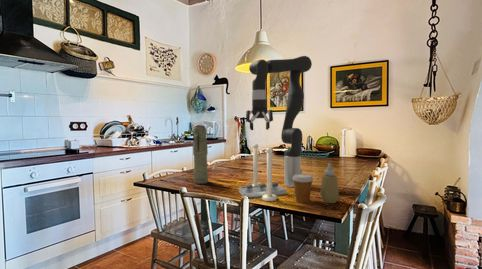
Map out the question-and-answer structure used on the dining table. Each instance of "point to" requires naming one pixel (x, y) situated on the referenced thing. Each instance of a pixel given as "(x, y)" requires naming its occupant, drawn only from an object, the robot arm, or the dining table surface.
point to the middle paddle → (262, 185)
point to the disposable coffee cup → (302, 187)
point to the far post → (255, 164)
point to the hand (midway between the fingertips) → (259, 129)
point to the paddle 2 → (274, 184)
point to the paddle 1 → (249, 186)
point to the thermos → (200, 155)
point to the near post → (269, 178)
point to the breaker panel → (261, 191)
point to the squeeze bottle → (329, 186)
